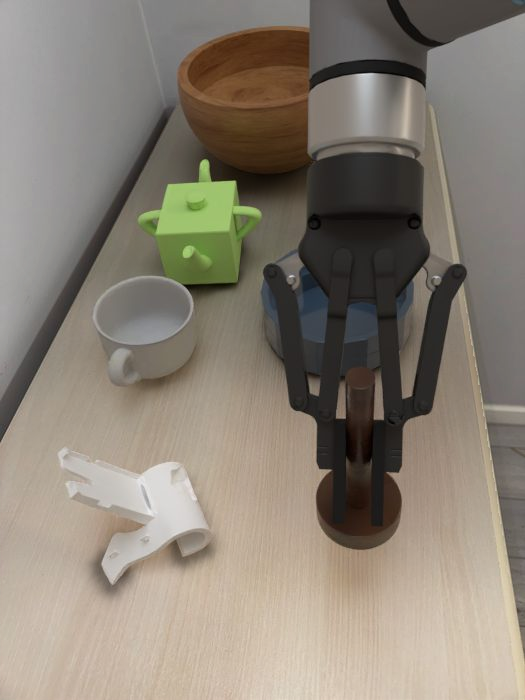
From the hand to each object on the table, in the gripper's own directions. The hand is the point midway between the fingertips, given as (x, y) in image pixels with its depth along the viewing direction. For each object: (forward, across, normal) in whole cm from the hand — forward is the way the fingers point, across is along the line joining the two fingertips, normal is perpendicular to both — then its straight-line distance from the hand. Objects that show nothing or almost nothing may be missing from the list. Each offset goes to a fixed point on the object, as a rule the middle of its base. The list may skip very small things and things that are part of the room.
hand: (357, 518), depth 45 cm
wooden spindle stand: (+2, 0, -7) cm, 7 cm away
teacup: (-8, +24, -29) cm, 38 cm away
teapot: (-20, +20, -42) cm, 51 cm away
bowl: (-38, +14, -59) cm, 71 cm away
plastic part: (+7, +19, -15) cm, 25 cm away
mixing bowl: (-13, +3, -34) cm, 36 cm away
